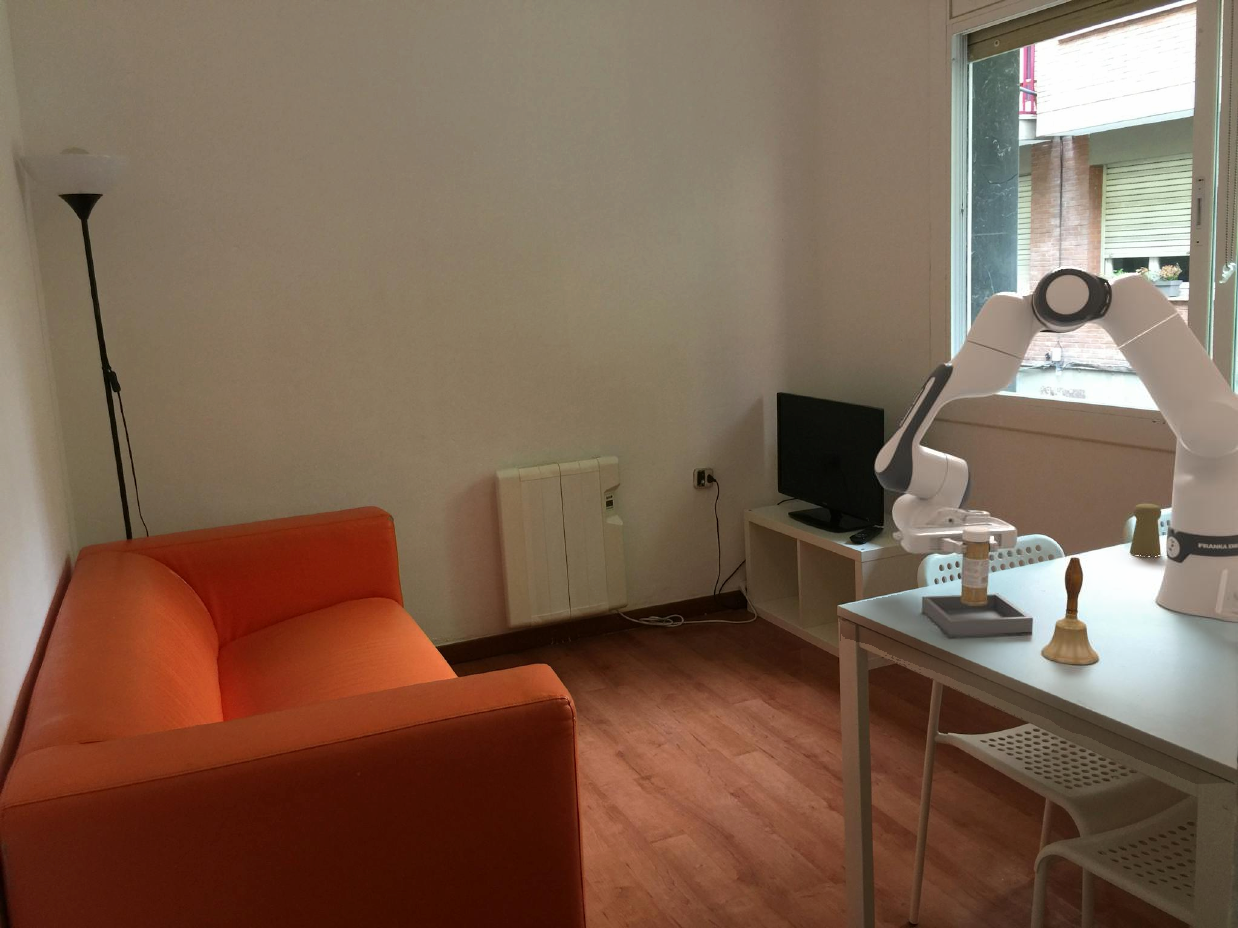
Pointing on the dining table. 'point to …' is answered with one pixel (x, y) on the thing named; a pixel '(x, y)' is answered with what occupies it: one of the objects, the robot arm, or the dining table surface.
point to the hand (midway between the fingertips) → (978, 548)
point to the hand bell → (1071, 625)
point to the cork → (1146, 531)
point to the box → (976, 617)
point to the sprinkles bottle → (975, 565)
